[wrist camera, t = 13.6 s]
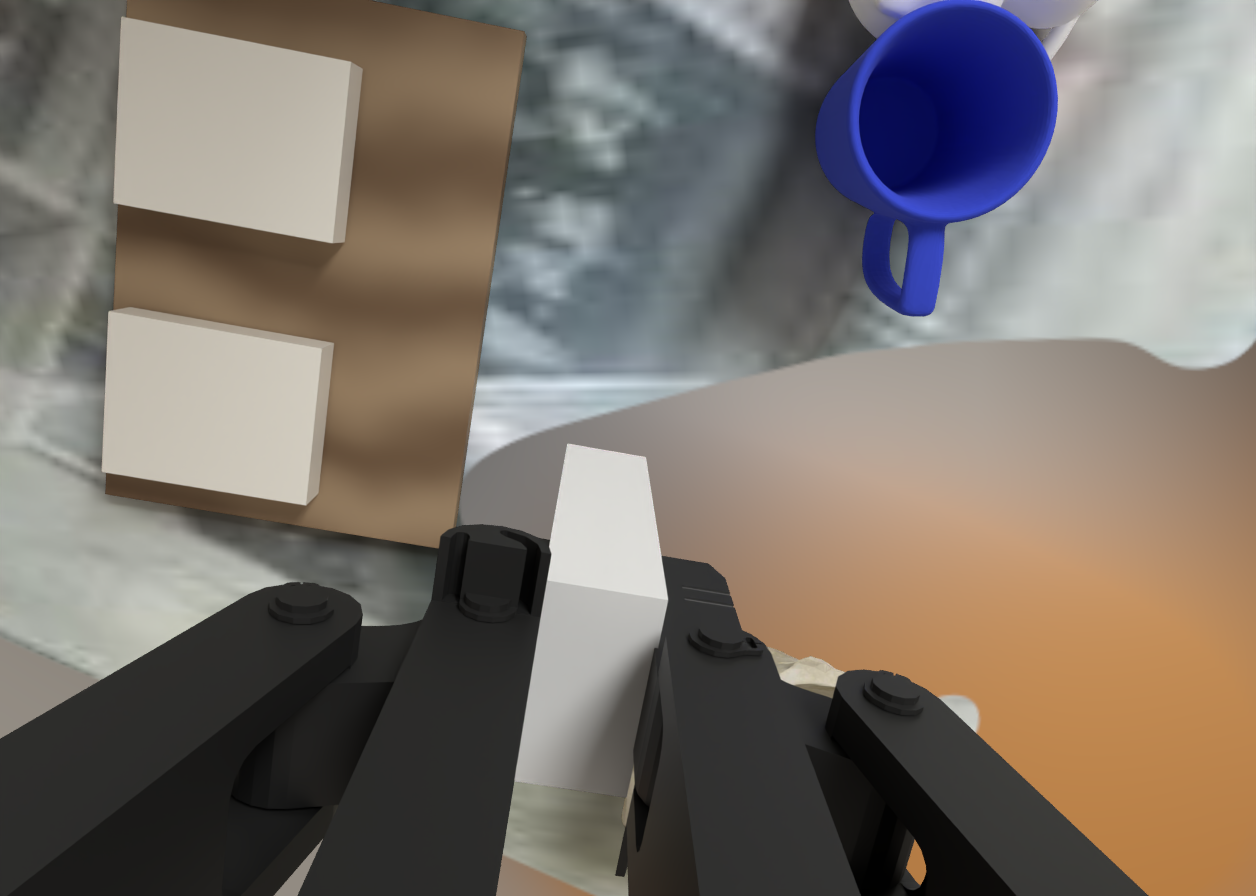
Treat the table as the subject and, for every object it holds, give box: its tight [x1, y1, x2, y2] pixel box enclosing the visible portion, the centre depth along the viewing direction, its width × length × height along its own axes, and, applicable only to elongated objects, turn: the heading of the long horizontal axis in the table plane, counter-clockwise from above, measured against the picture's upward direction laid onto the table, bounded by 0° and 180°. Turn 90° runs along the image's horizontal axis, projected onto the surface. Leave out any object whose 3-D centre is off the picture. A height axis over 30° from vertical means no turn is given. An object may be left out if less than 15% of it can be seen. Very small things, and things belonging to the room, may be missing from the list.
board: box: [105, 0, 527, 548], centre depth 45 cm, size 26×18×1 cm
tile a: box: [113, 17, 363, 243], centre depth 42 cm, size 8×2×10 cm
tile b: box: [102, 307, 334, 505], centre depth 45 cm, size 8×2×10 cm
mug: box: [815, 0, 1058, 316], centre depth 40 cm, size 8×12×10 cm
